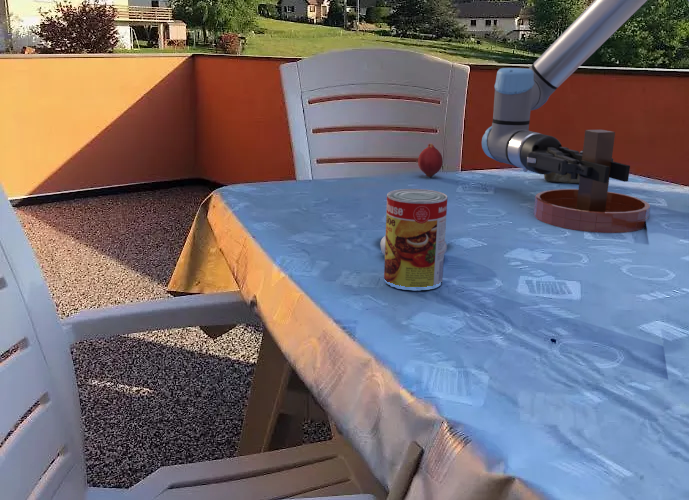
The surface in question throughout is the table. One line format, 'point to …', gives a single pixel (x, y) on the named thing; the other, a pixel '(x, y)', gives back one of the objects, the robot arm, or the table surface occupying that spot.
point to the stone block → (561, 178)
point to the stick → (599, 152)
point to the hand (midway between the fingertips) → (616, 174)
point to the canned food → (415, 237)
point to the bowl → (591, 212)
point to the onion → (430, 160)
